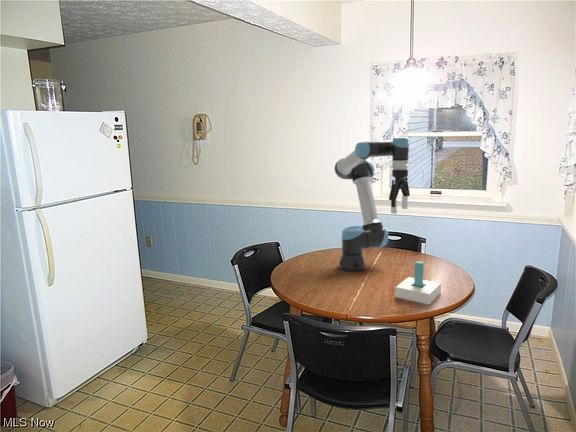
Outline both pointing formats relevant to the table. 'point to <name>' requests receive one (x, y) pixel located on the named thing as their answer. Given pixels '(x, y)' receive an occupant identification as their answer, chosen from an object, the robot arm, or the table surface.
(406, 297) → the socket board
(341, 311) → the table surface
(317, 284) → the table surface
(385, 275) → the table surface
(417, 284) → the peg
